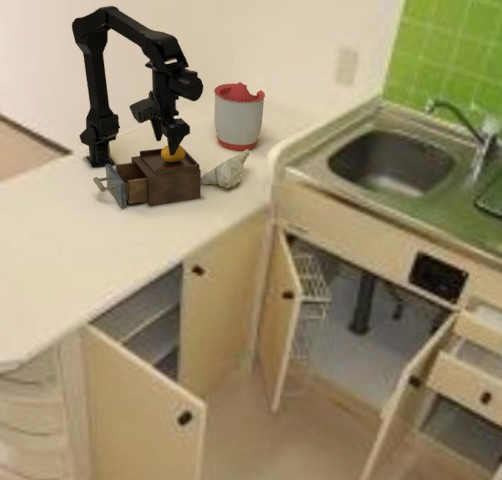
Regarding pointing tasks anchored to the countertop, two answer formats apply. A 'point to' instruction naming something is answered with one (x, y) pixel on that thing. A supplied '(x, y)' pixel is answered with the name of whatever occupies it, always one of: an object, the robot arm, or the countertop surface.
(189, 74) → the robot arm
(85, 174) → the countertop surface
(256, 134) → the citrus juicer
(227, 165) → the white conch shell
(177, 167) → the dark brown shallow tray
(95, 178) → the drawer
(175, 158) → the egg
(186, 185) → the cabinet
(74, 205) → the countertop surface
